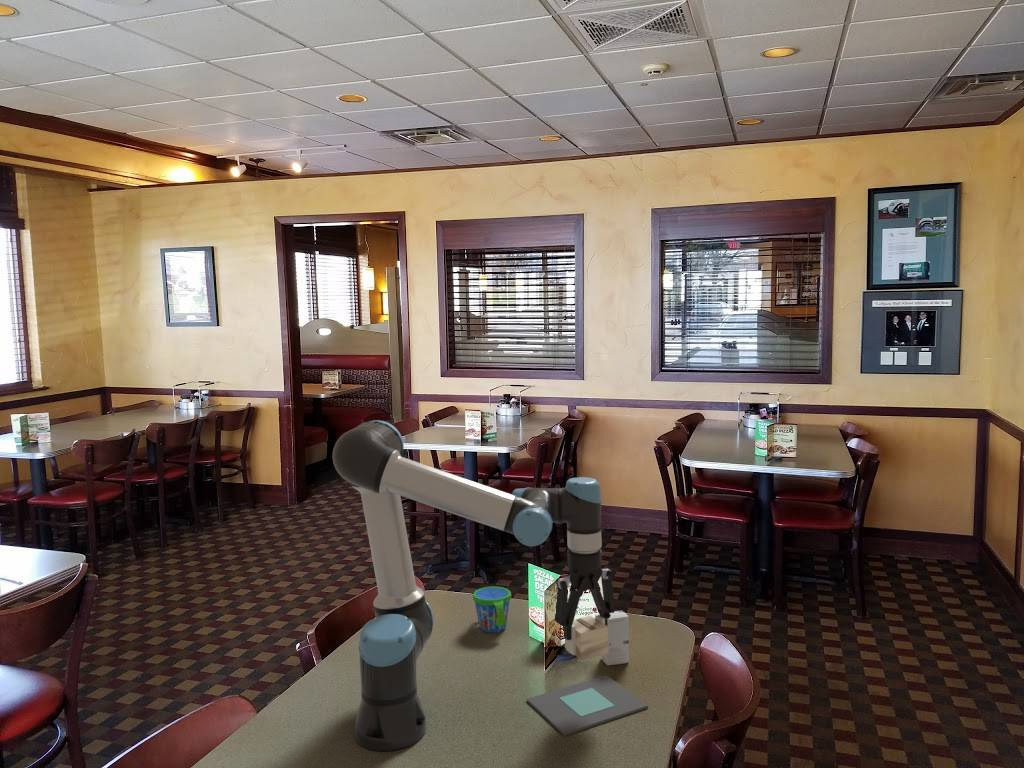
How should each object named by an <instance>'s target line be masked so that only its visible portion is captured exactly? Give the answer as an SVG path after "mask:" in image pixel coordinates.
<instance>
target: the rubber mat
mask: <svg viewBox="0 0 1024 768" xmlns="http://www.w3.org/2000/svg"><path fill="white" fill-rule="evenodd" d="M526 702H527V703H528V704H529V705H530V706H531V707H532V708H533V709H535V711H537V713H538V714H540V715H541V716H542V717H543V718H544V719H545V720H546V721H548V722H549V724H551V725H552V726H553V727H554V728H555V729H556V730H557V731H558V733H560V734H562V735H563V737H565V736H568V735H571V734H575V733H578V732H581V731H583V730H587V729H590V728H592V727H595V726H598V725H601V724H604V723H608V722H610V721H613V720H616V719H620V718H623V717H626V716H628V715H631V714H634V713H637V712H641V711H643V710H646V709H648V708H649V705H648V704H647V703H645V702H644V701H643V700H641V699H640V698H638V697H637V696H636V695H635V694H633V693H631V692H630V691H629V690H627V689H626V688H624V687H623V686H622V685H620V683H618V682H617V681H616V680H614V679H613V678H611V677H610V676H608V675H607V674H605V675H601V676H598V677H595V678H592V679H588V680H585V681H582V682H578V683H575V684H572V685H568V686H565V687H561V688H559V689H555V690H554V689H553V690H552V691H548V692H545V693H542V694H538V695H534V696H531V697H528V698H526Z"/></svg>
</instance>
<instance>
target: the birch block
mask: <svg viewBox="0 0 1024 768" xmlns="http://www.w3.org/2000/svg"><path fill="white" fill-rule="evenodd" d="M573 625H575V626H576V655H574V656H575V657H577V658H578V659H579V660H580V661H583V660H587V659H591V658H595V657H599V656H601V655H602V654H606V653H608V626H606V625H605V624H603V623H601V622H600V621H598V620H597V619H595V616H592V615H588V616H583V617H580V618H574V621H573ZM564 649H566V650H567V640H566V639H565V645H564Z"/></svg>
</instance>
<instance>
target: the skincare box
mask: <svg viewBox="0 0 1024 768" xmlns="http://www.w3.org/2000/svg"><path fill="white" fill-rule="evenodd" d="M610 615H611V616H610V618H609V619H607V624H608V653H606V654H602V655H600V658H601V660H602V661H603V662H604V664H605V666H614V665H621V664H623V665H624V664H628V663H629V661H630V660H629V657H630V656H629V655H630V652H629V651H630V650H629V649H630V641H629V639H630V617H629V615H628V614H627V613H626V612H625V611H624V610H615V612H614V613H610Z"/></svg>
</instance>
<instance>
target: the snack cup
mask: <svg viewBox="0 0 1024 768" xmlns="http://www.w3.org/2000/svg"><path fill="white" fill-rule="evenodd" d="M472 598H473V601H474V604H475V609H476V616H477V621H478V625H479V628H480V629H481V630H482V631H483V632H484V633H499V632H502V631H503V630H505V629H506V628H507V623H508V618H509V617H508V616H509V608H510V602H511V601H510V600H511V598H512V593H511V591H510V590H509V589H508V588H505V587H502V586H485V587H481V588H478V589H476V590H475V591H474V592H473V594H472ZM501 630H502V631H501Z"/></svg>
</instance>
